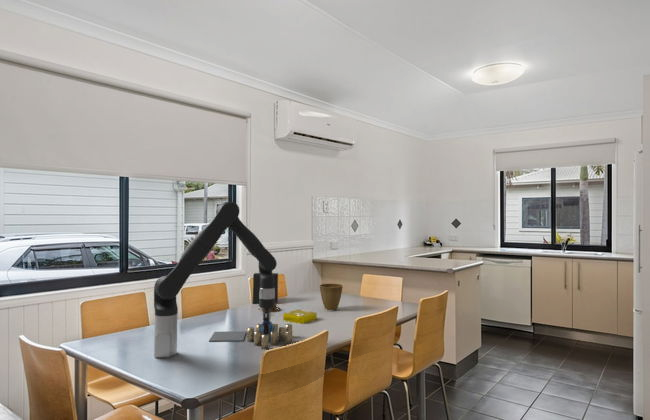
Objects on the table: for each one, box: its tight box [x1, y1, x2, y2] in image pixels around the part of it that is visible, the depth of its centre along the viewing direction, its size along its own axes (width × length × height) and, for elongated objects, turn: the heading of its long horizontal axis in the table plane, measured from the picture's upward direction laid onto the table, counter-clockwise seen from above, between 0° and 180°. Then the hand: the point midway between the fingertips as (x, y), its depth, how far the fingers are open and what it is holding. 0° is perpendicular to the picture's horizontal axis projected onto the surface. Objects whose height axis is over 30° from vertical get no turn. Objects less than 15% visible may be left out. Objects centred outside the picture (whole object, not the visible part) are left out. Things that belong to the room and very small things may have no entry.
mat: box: [208, 330, 247, 343], centre depth 212 cm, size 16×16×1 cm
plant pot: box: [319, 283, 343, 310], centre depth 278 cm, size 15×15×16 cm
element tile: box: [282, 309, 318, 325], centre depth 250 cm, size 15×15×5 cm
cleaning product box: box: [252, 272, 279, 305], centre depth 298 cm, size 16×9×20 cm, turn 94°
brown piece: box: [258, 303, 281, 313], centre depth 271 cm, size 18×20×6 cm
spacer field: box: [246, 320, 293, 350], centre depth 207 cm, size 28×22×6 cm
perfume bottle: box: [259, 320, 274, 344], centre depth 207 cm, size 6×6×12 cm
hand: (266, 331), depth 207 cm, fingers closed on perfume bottle, 6 cm apart
